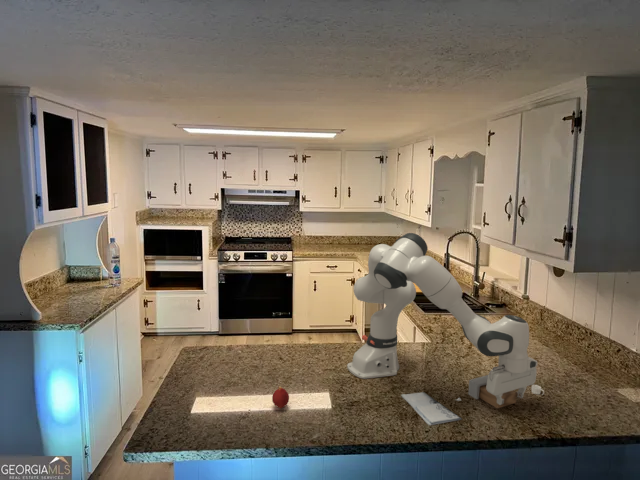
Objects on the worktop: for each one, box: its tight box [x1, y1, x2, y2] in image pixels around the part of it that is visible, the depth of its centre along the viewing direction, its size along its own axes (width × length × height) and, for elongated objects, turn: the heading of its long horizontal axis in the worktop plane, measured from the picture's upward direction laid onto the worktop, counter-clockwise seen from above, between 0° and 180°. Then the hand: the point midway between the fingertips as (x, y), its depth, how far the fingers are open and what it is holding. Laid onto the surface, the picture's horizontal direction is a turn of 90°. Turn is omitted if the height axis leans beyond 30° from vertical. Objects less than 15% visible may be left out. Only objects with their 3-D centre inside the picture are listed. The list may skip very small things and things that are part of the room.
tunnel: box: [468, 374, 489, 400], centre depth 152 cm, size 12×4×6 cm, turn 115°
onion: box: [271, 386, 290, 410], centre depth 144 cm, size 6×6×8 cm
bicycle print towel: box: [401, 391, 463, 426], centre depth 146 cm, size 19×20×2 cm
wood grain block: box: [479, 384, 517, 409], centre depth 148 cm, size 9×12×4 cm
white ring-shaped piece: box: [531, 384, 545, 396], centre depth 153 cm, size 9×8×4 cm
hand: (509, 400), depth 142 cm, fingers open, 8 cm apart
